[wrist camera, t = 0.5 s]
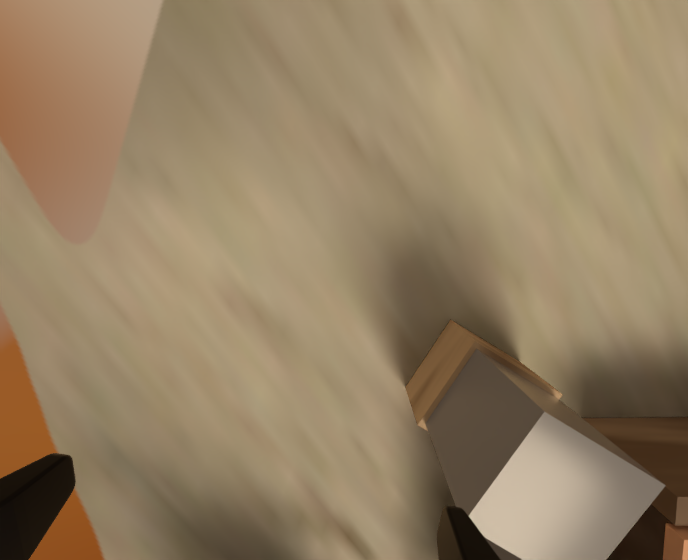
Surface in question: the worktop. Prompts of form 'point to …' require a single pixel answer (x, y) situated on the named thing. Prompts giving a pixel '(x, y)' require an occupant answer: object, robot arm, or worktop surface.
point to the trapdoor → (678, 556)
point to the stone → (534, 468)
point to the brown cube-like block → (456, 369)
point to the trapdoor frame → (656, 456)
